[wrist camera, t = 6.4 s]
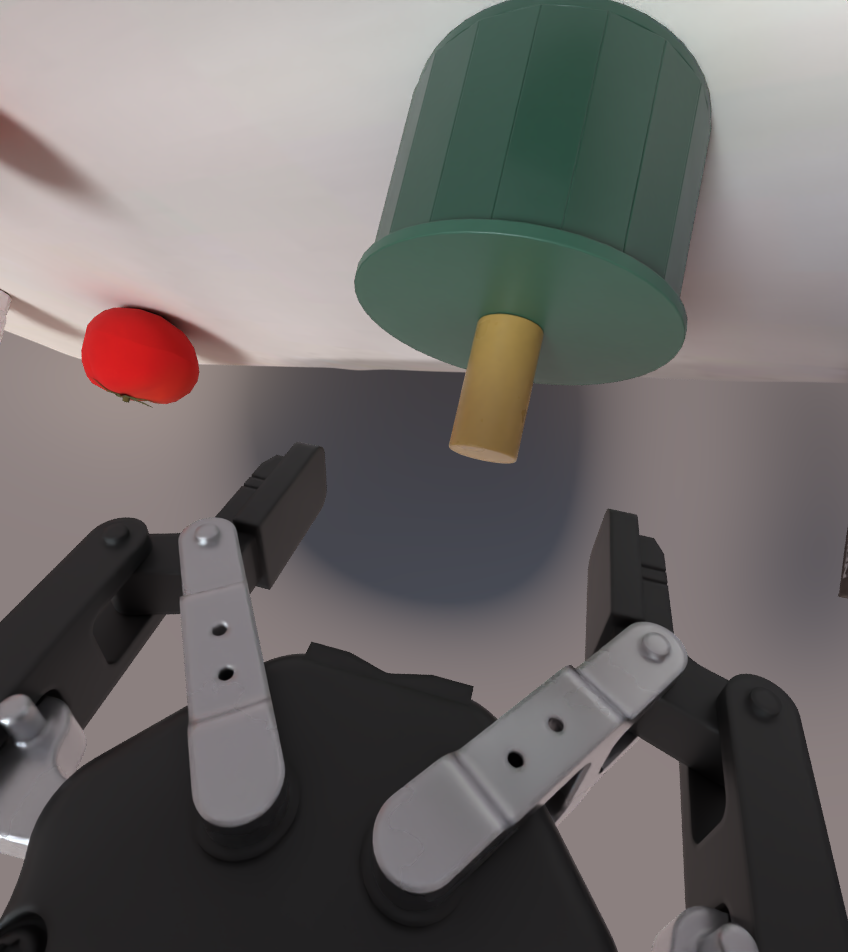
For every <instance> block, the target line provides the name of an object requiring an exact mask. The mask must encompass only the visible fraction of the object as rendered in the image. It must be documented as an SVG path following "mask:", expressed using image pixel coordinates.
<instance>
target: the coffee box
mask: <svg viewBox="0 0 848 952" xmlns="http://www.w3.org/2000/svg"><path fill="white" fill-rule="evenodd" d="M838 596H839V597H843V598H848V530H847V535H846V544H845V551H844V559H843V567H842V575H841V583H840V591H839V594H838Z"/></svg>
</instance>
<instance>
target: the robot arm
mask: <svg viewBox="0 0 848 952" xmlns="http://www.w3.org/2000/svg"><path fill="white" fill-rule="evenodd" d="M326 491H327V485H326V467H325V452H324V449H323V448H322V447H320V446H315V445H310V444H305V443H301V442H296V443H295V444H294V445H293V446H292V447H291V449H290V450H289V451H288V452H287V454H286V455H285V456H279V455H276V456H274V457H272V458H270V459H269V460H267V461H265V462H263V463H262V464H261V465H260V466H259V467H258V468H257V469H256V470H255V472H254V473H253V474H252V477H249V479H248V480H247V481H246V482H245V483H244V486H242V487H241V488H240V489H239V490H238V491H237V492H236V494H235V495H234V496H233V497H232V498H231V499H230V501H229V502H228V503H227V504H226V505H225V506H224V508H223V509H222V510H221V511H220V512H219V513H218V514H217V516H216V517H214V518H205V519H201V520H198V521H195V522H194V523H192V524H190V525H189V526H187V527H186V528H185V529H184V530H183V531H182V532H181V533H177V534H149V533H148V530H147V527H146V525H145V524H144V523H143V522H142V521H141V520H138V519H135V518H117V519H113V520H110V521H107V522H105V523H103V524H101V525H99V526H97V527H96V528H95V529H94V530H92V531H91V532H90V533H89V534H88V535H87V536H86V537H85V538H84V539H83V540H82V541H81V542H80V543H79V544H78V545H77V546H76V547H75V548H74V549H73V550H72V551H71V552H70V553H69V554H68V555H67V556H66V557H65V558H64V559H63V560H62V561H61V562H60V563H59V564H58V565H57V566H56V567H55V568H54V569H53V570H52V571H51V572H50V573H49V574H48V575H47V576H46V577H45V578H44V579H43V580H42V581H41V582H40V583H39V584H38V585H37V586H36V587H35V588H34V589H33V590H32V591H31V592H30V593H29V594H28V595H27V596H26V597H25V598H24V599H23V600H22V601H21V602H20V603H19V604H18V605H17V606H16V607H15V608H14V609H13V610H12V611H11V612H10V613H9V614H8V615H7V616H6V617H5V618H4V619H3V620H2V621H1V622H0V853H3V854H6V855H10V856H14V857H17V858H21V859H24V863H23V867H22V870H21V873H20V876H19V879H18V882H17V884H16V886H15V889H14V891H13V894H12V896H11V899H10V901H9V903H8V905H7V907H6V909H5V911H4V913H3V915H2V917H1V919H0V952H618V951H617V948H616V945H615V943H614V940H613V938H612V936H611V934H610V932H609V930H608V928H607V926H606V924H605V922H604V920H603V918H602V916H601V914H600V912H599V910H598V908H597V906H596V904H595V902H594V900H593V898H592V896H591V894H590V892H589V890H588V888H587V886H586V885H585V882H584V881H583V878H582V876H581V874H580V873H579V871H578V869H577V867H576V865H575V863H574V861H573V859H572V857H571V855H570V853H569V851H568V849H567V847H566V845H565V843H564V841H563V839H562V837H561V835H560V833H559V831H558V829H557V826H558V825H559V824H560V823H561V822H562V821H563V820H564V819H565V818H566V817H567V816H568V815H569V814H570V813H571V811H572V810H573V809H574V808H575V807H576V806H577V805H578V804H579V802H580V801H581V800H582V799H583V798H584V796H585V795H586V794H587V792H588V791H589V790H590V789H591V788H592V786H593V785H594V784H595V783H596V782H597V781H598V780H599V779H600V778H601V777H602V776H603V775H604V774H605V773H606V772H607V771H608V770H609V769H610V768H611V767H612V766H613V765H614V764H615V763H616V761H618V760H619V759H620V758H621V757H622V756H623V755H624V754H625V753H626V752H627V751H628V750H629V748H631V747H632V746H633V745H634V744H635V743H636V742H637V741H638V740H639V739H640V738H642V739H643V740H645V741H646V742H648V743H650V744H652V745H653V746H655V747H656V748H658V749H660V750H661V751H663V752H665V753H666V754H668V755H670V756H672V757H673V758H675V759H676V760H678V761H679V765H680V766H679V768H680V789H681V813H682V833H683V834H682V836H683V857H684V879H685V880H684V881H685V902H686V910H685V911H683V912H682V913H681V914H679V915H678V916H677V917H676V918H675V919H674V920H673V921H671V922H670V923H669V924H668V925H667V926H665V927H664V928H663V929H662V930H661V931H660V932H659V933H658V934H657V936H656V938H655V940H654V943H653V946H652V952H848V919H847V915H846V910H845V906H844V902H843V897H842V893H841V889H840V885H839V880H838V876H837V872H836V868H835V863H834V859H833V855H832V851H831V846H830V842H829V838H828V834H827V829H826V825H825V821H824V817H823V813H822V808H821V804H820V799H819V795H818V791H817V787H816V782H815V778H814V774H813V770H812V765H811V761H810V757H809V753H808V748H807V744H806V740H805V736H804V731H803V727H802V723H801V719H800V715H799V712H798V709H797V707H796V706H795V704H794V702H793V701H792V700H791V698H790V697H789V696H788V695H787V694H786V693H785V692H784V691H783V690H782V689H781V688H780V687H778V686H777V685H775V684H774V683H772V682H771V681H769V680H767V679H765V678H762V677H759V676H757V675H752V674H740V675H736V676H734V677H733V678H732V679H730V680H729V681H728V680H727V679H725V678H723V677H721V676H719V675H717V674H715V673H713V672H711V671H709V670H707V669H706V668H704V667H702V666H700V665H699V664H697V663H696V662H695V661H693V660H692V659H691V658H689V657H688V655H687V652H686V649H685V647H684V645H683V644H682V642H681V641H680V640H679V639H678V638H677V636H676V635H674V631H673V623H672V616H671V607H670V600H669V591H668V586H667V575H666V573H665V571H666V567H665V559H664V553H663V552H662V550H661V549H660V547H659V545H658V544H657V542H656V541H655V539H654V538H650V537H646V536H642V535H639V527H638V517H637V515H635V514H631V513H626V512H621V511H617V510H612V509H607V511H606V513H605V515H604V518H603V521H602V524H601V527H600V529H599V532H598V535H597V538H596V540H595V544H594V546H593V549H592V552H591V556H590V561H589V567H588V586H587V587H588V588H587V617H586V647H585V648H586V649H585V662H584V663H582V664H581V665H580V666H578V667H577V668H573V666H571V665H569V666H566V667H564V668H562V669H561V670H560V671H558V672H557V673H556V674H555V675H553V676H552V677H551V678H549V679H548V680H547V681H546V682H544V683H543V684H542V685H541V686H539V687H538V688H537V689H536V690H534V691H533V692H532V693H530V694H529V695H528V696H527V697H526V698H524V699H523V700H522V701H520V702H519V703H518V704H517V705H515V706H514V707H513V708H512V709H510V710H509V711H508V712H506V713H505V714H504V715H503V716H501V717H500V718H499V719H497V718H496V717H495V716H493V715H492V714H491V713H490V712H489V711H488V710H487V709H485V708H484V707H483V706H481V705H480V704H478V703H477V702H475V701H473V700H471V696H472V692H473V686H470V685H467V684H463V683H459V682H455V681H452V680H449V679H445V678H441V677H438V676H434V675H417V674H391V673H386V672H384V671H382V670H380V669H378V668H377V667H375V666H373V665H371V664H370V663H368V662H366V661H364V660H362V659H361V658H359V657H357V656H356V655H354V654H352V653H350V652H347V651H343V650H339V649H336V648H332V647H329V646H325V645H322V644H318V643H314V642H311V644H310V646H309V648H308V650H307V652H306V654H292V655H286V656H281V657H278V658H274V659H271V660H269V661H266V662H263V657H262V652H261V647H260V643H259V637H258V632H257V628H256V623H255V618H254V613H253V609H252V603H251V598H250V593H251V592H252V591H253V589H254V588H255V586H258V587H261V588H265V589H269V590H270V588H271V587H272V585H273V584H274V582H275V581H276V579H277V578H278V576H279V574H280V573H281V571H282V570H283V568H284V567H285V565H286V564H287V562H288V560H289V559H290V557H291V556H292V554H293V553H294V551H295V550H296V548H297V546H298V545H299V543H300V542H301V540H302V539H303V537H304V536H305V534H306V532H307V531H308V529H309V528H310V526H311V524H312V523H313V521H314V520H315V518H316V516H317V515H318V514H319V512H320V511H321V509H322V507H323V504H324V502H325V498H326ZM166 614H181V626H182V638H183V651H184V664H185V676H186V688H187V700H188V706H186V707H184V708H182V709H180V710H179V711H177V712H175V713H173V714H172V715H170V716H168V717H166V718H165V719H163V720H161V721H159V722H158V723H156V724H154V725H152V726H151V727H149V728H147V729H145V730H143V731H142V732H140V733H138V734H137V735H135V736H133V737H131V738H130V739H128V740H126V741H124V742H122V743H121V744H119V745H117V746H115V747H114V748H112V749H110V750H108V751H107V752H105V753H103V754H101V755H100V756H98V757H96V758H94V759H93V760H92V761H90V762H88V763H87V764H85V765H83V766H82V767H81V768H80V769H78V770H77V766H78V765H79V763H80V761H81V759H82V757H83V755H84V752H85V749H86V736H85V733H84V732H83V730H84V728H85V727H86V725H87V724H88V722H89V721H90V720H91V718H92V717H93V716H94V714H95V713H96V711H97V710H98V708H99V707H100V706H101V704H102V703H103V702H104V700H105V699H106V697H107V696H108V695H109V693H110V692H111V691H112V689H113V687H114V686H115V685H116V684H117V682H118V681H119V679H120V678H121V676H122V675H123V674H124V672H125V671H126V670H127V668H128V667H129V665H130V664H131V663H132V661H133V660H134V658H135V657H136V656H137V654H138V653H139V651H140V650H141V649H142V647H143V646H144V645H145V643H146V642H147V640H148V639H149V637H150V636H151V635H152V633H153V632H154V631H155V629H156V628H157V626H158V625H159V624H160V622H161V621H162V619H163V618H164V617H165V615H166Z"/></svg>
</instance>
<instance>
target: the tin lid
mask: <svg viewBox="0 0 848 952" xmlns="http://www.w3.org/2000/svg"><path fill="white" fill-rule="evenodd" d="M354 284H355V292H356V295H357V298H358V301H359V303H360V304H361V306H362V307H363V309H364V311H365V312H366V313H367V314H368V315H369V316H370V318H371V319H372V320H373V321H374V322H375V323H377V324H378V325H379V326H380V327H381V328H382V329H384V330H385V331H386V332H388V333H389V334H390V335H392V336H393V337H395V338H396V339H398V340H399V341H401V342H403V343H404V344H406V345H408V346H410V347H412V348H414V349H415V350H418V351H420V352H422V353H424V354H426V355H428V356H431V357H433V358H435V359H438V360H440V361H443V362H446V363H448V364H451V365H454V366H457V367H460V368H463V369H467V370H466V375H465V378H464V383H463V387H462V391H461V396H460V400H459V405H458V409H457V413H456V417H455V422H454V426H453V430H452V435H451V439H450V443H449V447H450V449H452V450H453V451H455V452H457V453H459V454H462V455H465V456H468V457H471V458H475V459H479V460H484V461H489V462H497V463H513V462H515V461H516V460H517V456H518V451H519V446H520V442H521V437H522V433H523V428H524V423H525V419H526V414H527V409H528V405H529V400H530V395H531V391H532V386H533V383H538V384H551V385H590V384H604V383H611V382H618V381H623V380H628V379H631V378H635V377H639V376H642V375H645V374H647V373H650V372H652V371H655V370H657V369H658V368H660V367H662V366H664V365H665V364H667V363H668V362H669V361H670V360H672V359H673V358H674V357H675V356H676V354H677V353H678V352H679V350H680V349H681V348H682V345H683V342H684V340H685V336H686V331H687V315H686V312H685V308H684V305H683V303H682V301H681V300H680V298H679V296H678V294H677V293H676V292H675V291H674V290H673V288H672V287H671V286H670V285H669V284H668V283H667V282H666V281H665V280H664V279H663V278H662V277H660V276H659V275H658V274H657V273H656V272H654V271H653V270H652V269H651V268H649V267H648V266H646V265H644V264H643V263H641V262H639V261H638V260H636V259H635V258H633V257H631V256H629V255H627V254H625V253H623V252H621V251H619V250H617V249H615V248H613V247H611V246H609V245H606V244H603V243H601V242H598V241H595V240H592V239H590V238H587V237H584V236H581V235H578V234H574V233H571V232H567V231H563V230H560V229H556V228H552V227H546V226H541V225H536V224H531V223H526V222H517V221H508V220H499V219H471V218H468V219H451V220H440V221H433V222H427V223H421V224H417V225H414V226H410V227H406V228H403V229H400V230H398V231H395V232H393V233H391V234H388V235H386V236H384V237H383V238H381V239H380V240H378V241H377V242H375V243H374V244H373V245H372V246H371V247H370V248H369V249H368V250H367V251H366V252H365V253H364V254H363V256H362V258H361V260H360V261H359V263H358V267H357V271H356V276H355V280H354Z"/></svg>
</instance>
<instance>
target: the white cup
mask: <svg viewBox="0 0 848 952" xmlns="http://www.w3.org/2000/svg"><path fill="white" fill-rule="evenodd" d="M10 303H11V298H10V296H9V295H8V294H6V293H5V292H3V291H1V290H0V344H1V340H2V336H3V330H4V327H5V324H6V315H7V313H8V310H9V306H10Z"/></svg>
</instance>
